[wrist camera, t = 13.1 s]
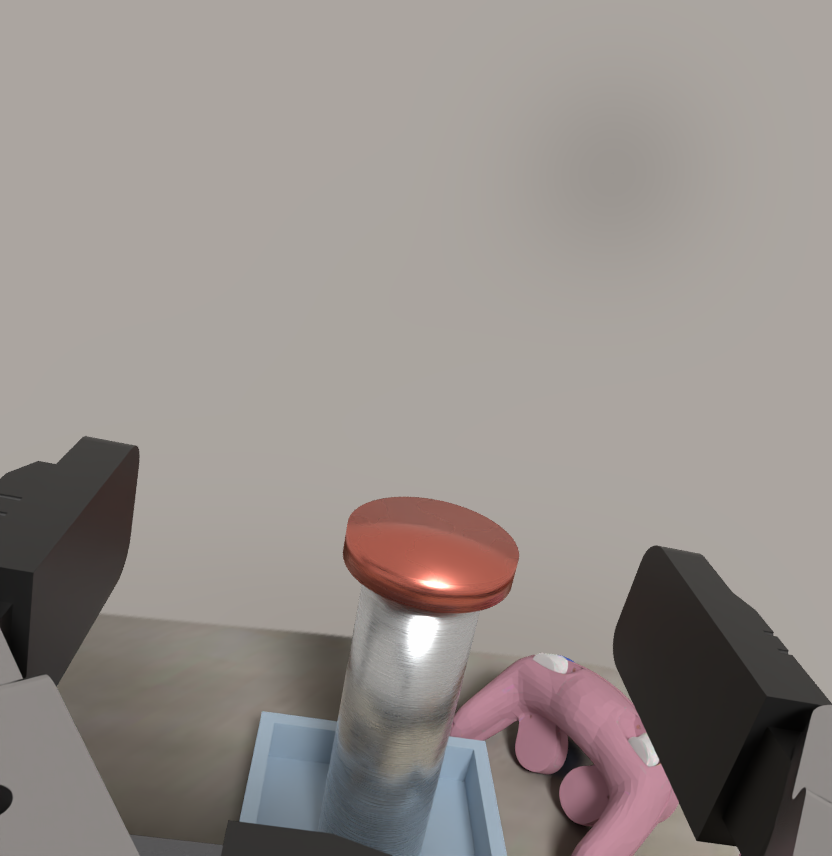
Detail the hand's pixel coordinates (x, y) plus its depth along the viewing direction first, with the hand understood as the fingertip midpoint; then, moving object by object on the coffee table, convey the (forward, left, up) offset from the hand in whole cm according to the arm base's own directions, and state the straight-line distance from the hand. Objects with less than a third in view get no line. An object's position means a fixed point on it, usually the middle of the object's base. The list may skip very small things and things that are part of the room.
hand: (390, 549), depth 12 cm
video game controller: (+12, +16, -20) cm, 29 cm away
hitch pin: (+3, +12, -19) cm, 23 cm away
